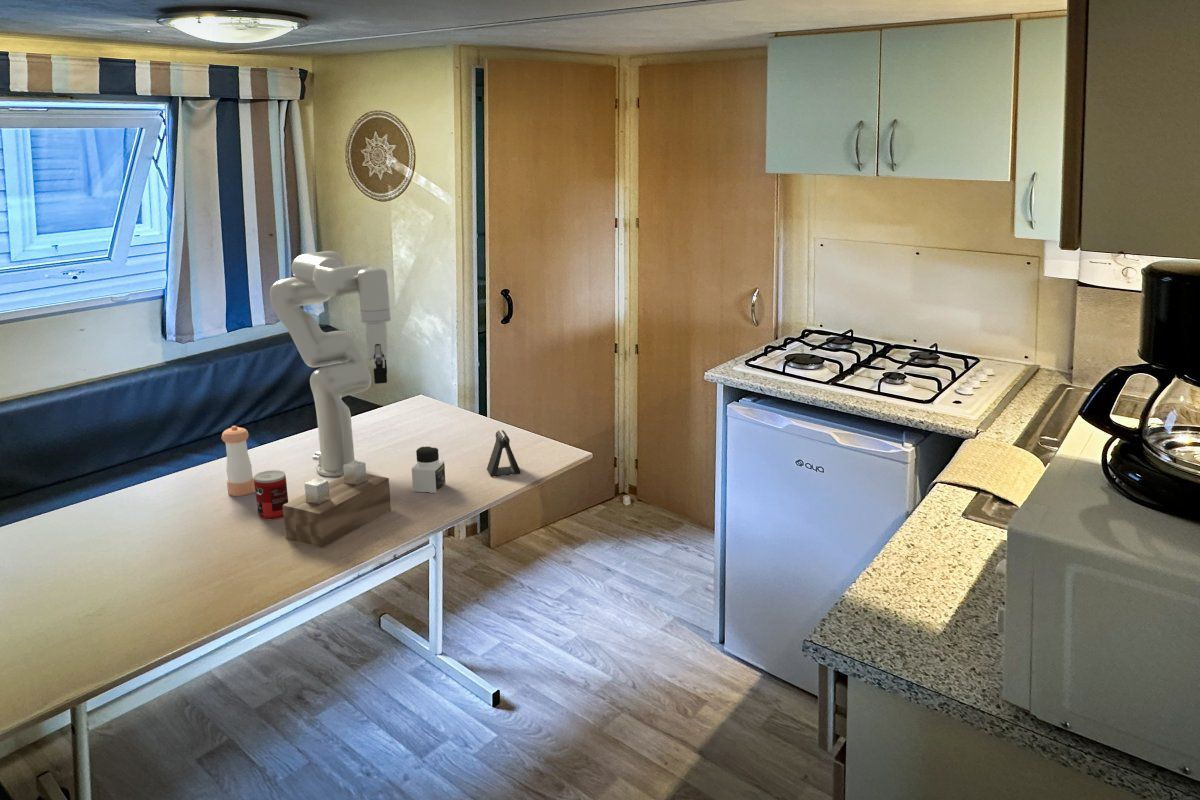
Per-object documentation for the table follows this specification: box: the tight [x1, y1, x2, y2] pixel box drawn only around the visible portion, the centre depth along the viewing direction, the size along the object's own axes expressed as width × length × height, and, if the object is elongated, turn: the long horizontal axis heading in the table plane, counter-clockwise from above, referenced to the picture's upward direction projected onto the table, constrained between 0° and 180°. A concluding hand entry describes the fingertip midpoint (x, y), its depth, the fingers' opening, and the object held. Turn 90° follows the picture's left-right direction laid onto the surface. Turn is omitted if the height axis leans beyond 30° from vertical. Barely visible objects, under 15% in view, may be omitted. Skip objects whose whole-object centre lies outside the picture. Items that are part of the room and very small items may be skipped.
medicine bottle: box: [411, 445, 446, 494], centre depth 269 cm, size 7×7×12 cm
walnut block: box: [282, 473, 392, 549], centre depth 246 cm, size 12×26×9 cm, turn 153°
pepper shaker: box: [221, 425, 255, 497], centre depth 267 cm, size 7×7×19 cm
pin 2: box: [343, 460, 367, 486], centre depth 251 cm, size 4×4×8 cm
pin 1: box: [304, 477, 330, 506], centre depth 239 cm, size 4×4×8 cm
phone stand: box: [486, 429, 522, 478], centre depth 281 cm, size 9×6×12 cm, turn 106°
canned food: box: [253, 469, 289, 521], centre depth 252 cm, size 8×8×11 cm
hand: (381, 378), depth 257 cm, fingers open, 9 cm apart
